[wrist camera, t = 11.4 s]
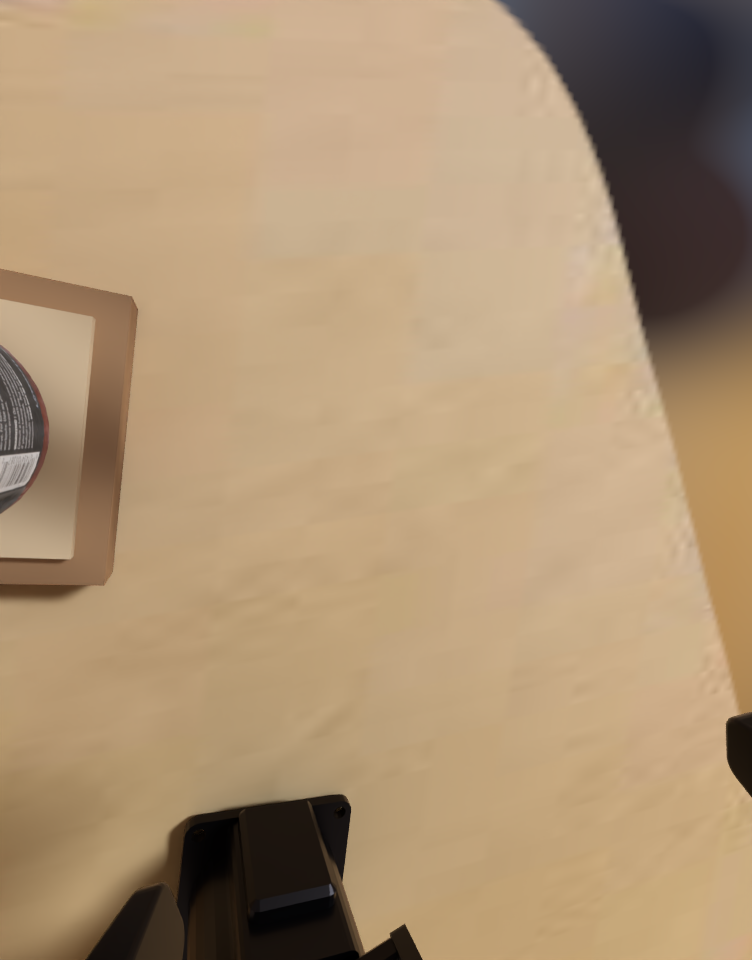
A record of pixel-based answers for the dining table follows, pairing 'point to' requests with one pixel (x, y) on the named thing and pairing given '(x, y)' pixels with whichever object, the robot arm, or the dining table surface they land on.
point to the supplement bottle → (19, 430)
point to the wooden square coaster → (69, 427)
